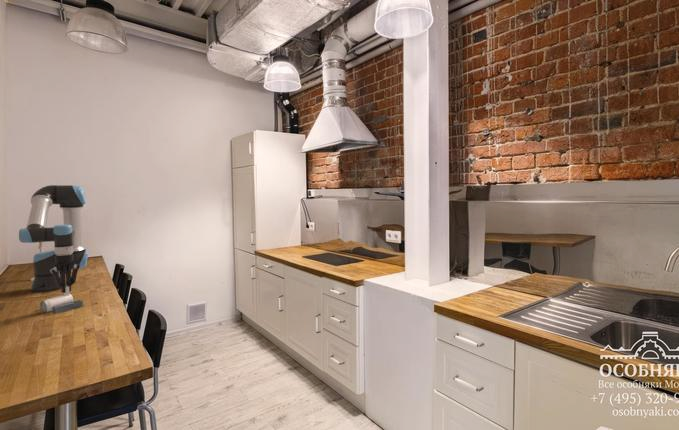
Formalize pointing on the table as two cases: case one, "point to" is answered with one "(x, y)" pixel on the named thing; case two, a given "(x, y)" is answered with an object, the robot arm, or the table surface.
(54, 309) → the slot guide
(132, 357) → the table surface
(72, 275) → the robot arm
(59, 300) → the can
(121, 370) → the table surface
